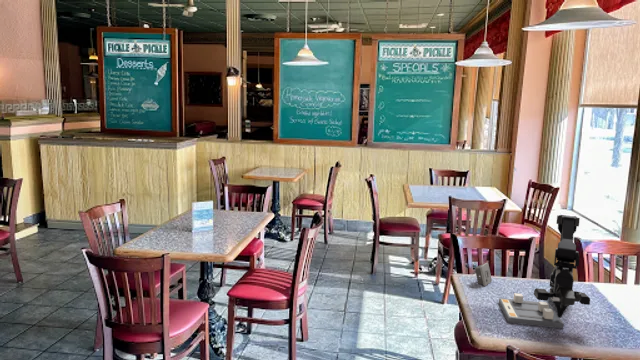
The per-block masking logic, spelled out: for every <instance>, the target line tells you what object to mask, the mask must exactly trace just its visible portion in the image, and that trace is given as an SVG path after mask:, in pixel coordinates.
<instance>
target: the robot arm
mask: <svg viewBox="0 0 640 360" xmlns="http://www.w3.org/2000/svg"><path fill="white" fill-rule="evenodd" d="M556 224H557V230H558V232H559V234H560V239H559V242H558V243H557V248H555V252H554V260H553V263H554V264H553V266H554V267H553V269H552V272H551V273H550V278H549V287H550V288H549V291H547V289H545V288H534V291H533V296H535V298H536V299H537V300H539V301H543V302H547V301H548V300H550V301H551V302H552V303H553V305H554V310H555V312H556V314H557V316H558V318H560V319H561V318H562V317H563V315H564V313H565V312H566V309H568V307H570V306H574V305H575V303H576V302H577V303H578V302H579V303H580V304H581V305H585V306H586V305H587V306H589V305H591V298H590V297H589V296H588V294H587V293H585V292H581V291H576V290H574V289H573V288H574V280H575V279H574V274H573V272H574V269H575V270H577V269H578V267H579V266H580V254H579V251H577V244H575V242H574V234H575V233H576V232H577V228H578V227H579V226H580V217H578V216H577V214H569V213H560V215H557V216H556Z"/></svg>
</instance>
